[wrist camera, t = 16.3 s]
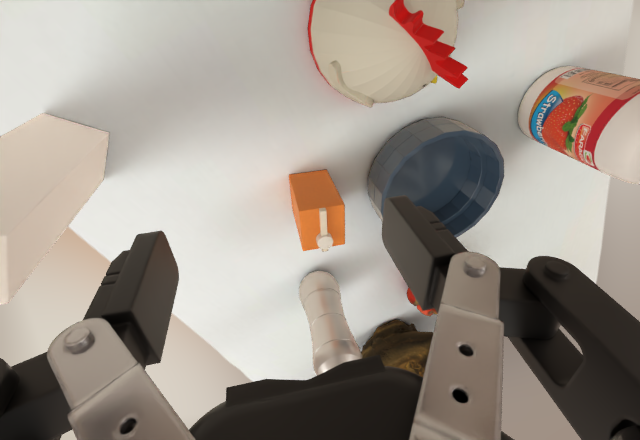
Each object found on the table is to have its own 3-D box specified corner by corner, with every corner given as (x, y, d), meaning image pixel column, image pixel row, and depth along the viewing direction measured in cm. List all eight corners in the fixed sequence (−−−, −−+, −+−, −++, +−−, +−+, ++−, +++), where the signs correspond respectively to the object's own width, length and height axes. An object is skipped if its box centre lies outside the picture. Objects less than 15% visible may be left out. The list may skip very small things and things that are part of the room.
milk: (110, 132, 35) (-25, 270, 17) (104, 180, 38) (-18, 344, 20) (40, 111, 33) (-201, 246, 15) (39, 164, 35) (-167, 333, 17)
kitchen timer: (367, 122, 40) (423, 175, 28) (280, 36, 33) (303, 56, 21) (457, 24, 36) (569, 36, 24) (379, -97, 29) (480, -169, 17)
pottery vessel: (344, 375, 70) (375, 486, 54) (320, 353, 64) (347, 471, 48) (449, 322, 67) (515, 423, 51) (435, 293, 61) (505, 398, 45)
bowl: (368, 123, 40) (385, 139, 35) (488, 109, 42) (520, 123, 37) (364, 229, 49) (378, 254, 44) (463, 213, 51) (486, 235, 46)
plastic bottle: (334, 262, 52) (378, 382, 35) (336, 291, 55) (376, 412, 39) (294, 269, 51) (319, 396, 34) (299, 299, 55) (323, 425, 38)
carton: (288, 174, 42) (300, 216, 34) (326, 169, 42) (347, 209, 34) (292, 210, 45) (304, 256, 37) (328, 205, 45) (347, 249, 37)
